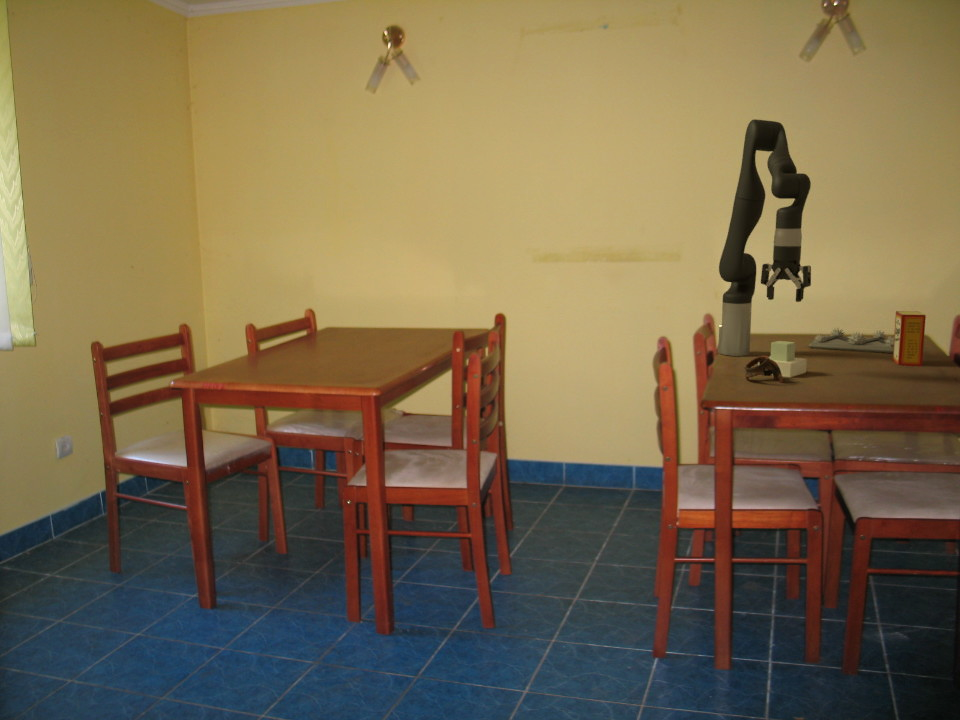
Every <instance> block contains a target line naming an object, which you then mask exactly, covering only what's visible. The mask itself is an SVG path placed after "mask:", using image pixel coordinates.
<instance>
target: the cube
mask: <svg viewBox="0 0 960 720" xmlns="http://www.w3.org/2000/svg"><path fill="white" fill-rule="evenodd" d="M795 356H796V342H794V341H793V342H792V341H784V340H777V341H773V342H770V357H771V358H770V359H771V360H778V361H790V360H794V359H795V358H796V357H795Z"/></svg>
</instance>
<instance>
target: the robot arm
mask: <svg viewBox="0 0 960 720" xmlns="http://www.w3.org/2000/svg"><path fill="white" fill-rule="evenodd" d="M744 135H745V136H744V142H743V149H742V159H741V166H740V172H739V178H738V181H737V186H736V190H735V191H736V192H735V196H734V200H733V206H732V212H731V217H730V223H729V226H728V231H727V236H726V240H725V243H724V247H723V250H722V252H721V255H720V259H719V264H718V273H719V276H720V278H721V279H722V280H723V281H724V282H726V283H730V286H729V288H728V289H727V290H726V291H725V292H724V293H723V295H722V307H721V308H722V309H721V312H722V313H721V324H720V325H718V348H717V350H718V351H717V353H718V354H722V355H724V356H733V357H735V356H736V357H743V356H748V355H749V356H750V353H751V329H752V328H751V327H752V326H751V325H752V303H753V302H752V301H753V298H754V297H753V296H754V295H755V291H756V281H757V262H756V260H755V258H754V257H753V255H752V254H750V253H747V252H745V250H746V245H747V242H748V240H749V238H750V236H751V235H752V233H753V231H754V230H755V227H757V224H759V223H758V222H759V221H760V219H761V217H762V214H763V212H764V206H765V200H766V189H765V186H764V185H763V182H762V179H761V177H760V175H759V172H758V169H757V165H756V154H757V151H760V152H768V153H769V152H770V155H769V156H768V158H767V162H766V163H767V169H768V172H769V174H770V176H771V185H770V187H771V188H770V189H771V194H772V195H773V196H774V197H775V198H777V199H781V200H782V199H783V200H784V199H786V200H787V199H788V200H789V199H790V200H791V199H794V200H793V202H792V203H791V204H789V206H783V207H779V208H778V209H777V210H776V212H775V215H776V216H775V229H774V237H773V251H772V252H773V253H772V254H773V255H772V260H773V262H772V264H770V263H763V264H762V265H761V276H760V284H761V285H765V286H766V298H767V299H768V300H769V301H772V300H774V299H775V298H774V297H775V286H774V285H775V284H776V283H777V282H778V281H779V280H785V281H791V282H792V283H793V284H794V286H795V287H796V290H795V303H796V302H797V303H800V302H802V301H803V299H804V293H805V291H804V290H805V289H806V288H808V287H811V285H812V281H811V280H812V267H811V265H804V266H803V265H802V266H801V259H802V257H801V256H802V240H803V239H802V238H803V237H802V236H803V235H802V234H803V233H802V224H803V223H802V222H803V214H804V209H805V205H806V202H807V199H808V196H809V193H810V191H811V188H812V187H811V185H812V184H811V183H812V182H811V178H810V177H809V175H808V174H806V173H800V172H799V173H797V172H798V171H797V167H796V165H795V162H794V161H793V159H792V157H791V154H790V151H789V144H788V139H787V134H786V130H785V127H784V125H783V124H782V123H781V122H779V121H775V120H774V121H773V120H765V119H751V120H750V122H749V123H748V124H747V127H746V131H745V134H744ZM770 271H773V273H772V275H771V276H770ZM800 272H801V273H802V278H801V276H800V274H799V273H800Z"/></svg>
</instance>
